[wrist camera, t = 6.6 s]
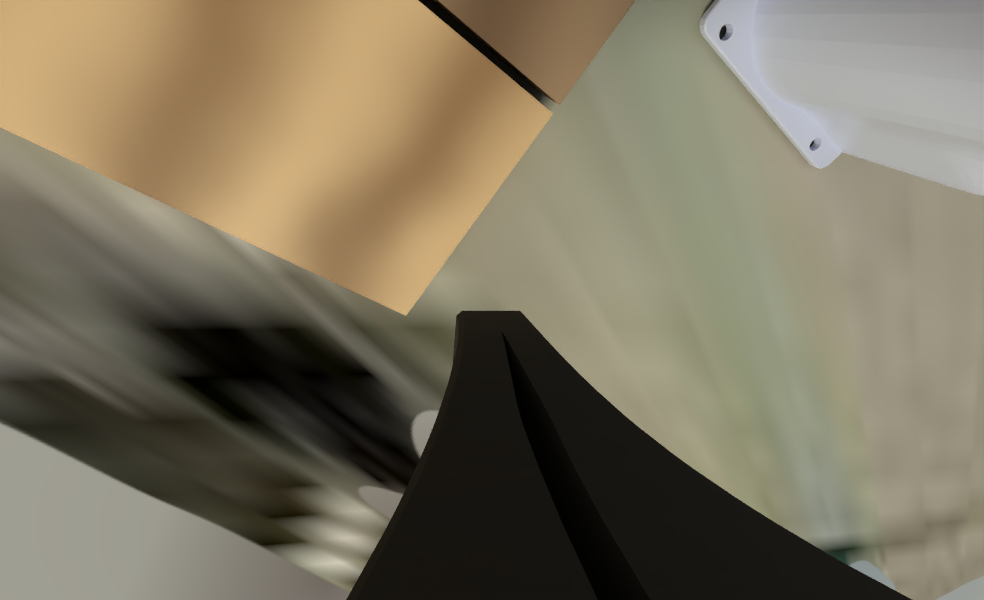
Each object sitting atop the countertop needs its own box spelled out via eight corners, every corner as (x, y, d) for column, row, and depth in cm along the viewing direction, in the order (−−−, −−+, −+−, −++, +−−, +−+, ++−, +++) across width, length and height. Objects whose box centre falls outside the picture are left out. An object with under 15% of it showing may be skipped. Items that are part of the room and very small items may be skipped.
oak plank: (539, 103, 16) (553, 113, 15) (406, 291, 20) (406, 315, 19) (-124, -451, 9) (-250, -560, 7) (-138, 22, 12) (-222, 24, 11)
